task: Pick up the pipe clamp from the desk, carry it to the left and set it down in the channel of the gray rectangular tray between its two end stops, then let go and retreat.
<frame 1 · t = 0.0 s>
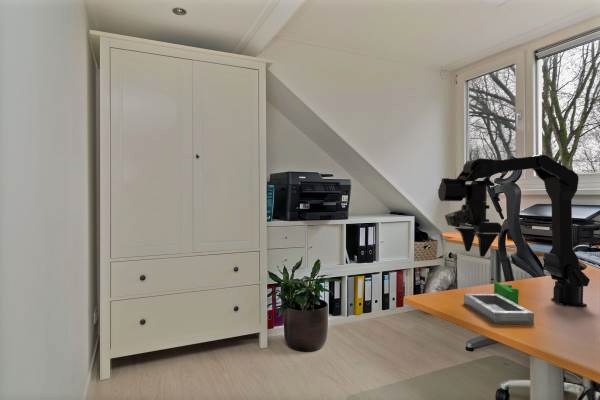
hand: (474, 253, 110), 15 cm above the table, tool pointing down, fingers open, 9 cm apart
gray rectangular tray: (495, 312, 101), on the table
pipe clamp: (507, 302, 112), on the table
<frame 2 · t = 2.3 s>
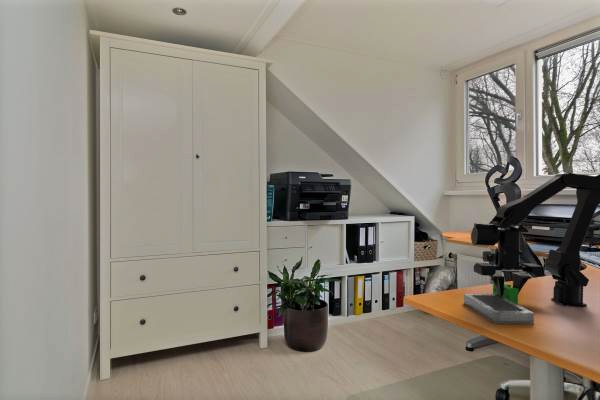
hand: (507, 297, 112), 1 cm above the table, tool pointing down, fingers closed on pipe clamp, 4 cm apart
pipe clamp: (506, 301, 112), on the table, touching gripper
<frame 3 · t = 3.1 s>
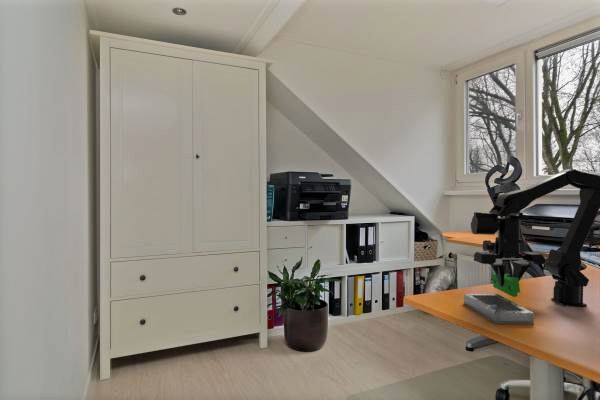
hand: (507, 286, 112), 5 cm above the table, tool pointing down, fingers closed on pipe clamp, 4 cm apart
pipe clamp: (509, 291, 112), point 3 cm above the table, touching gripper
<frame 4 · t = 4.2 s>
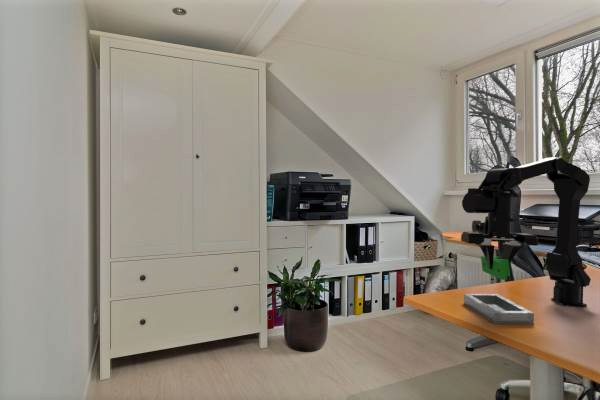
hand: (497, 269, 103), 12 cm above the table, tool pointing down, fingers closed on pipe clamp, 4 cm apart
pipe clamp: (498, 275, 103), point 10 cm above the table, touching gripper
when the fingers open (4 cm above the table, at t = 6.1 s): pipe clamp drops 1 cm, resting on gray rectangular tray.
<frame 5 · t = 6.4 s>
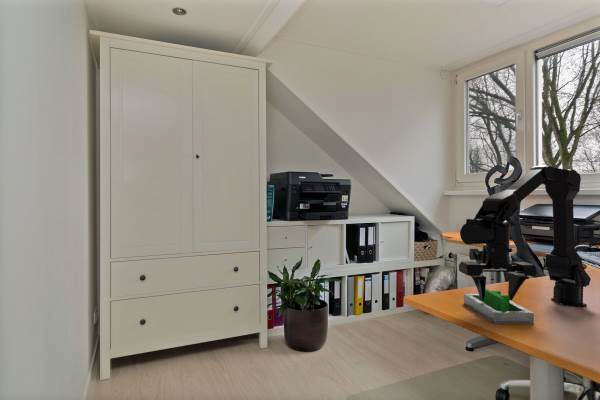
hand: (496, 299, 101), 4 cm above the table, tool pointing down, fingers open, 7 cm apart
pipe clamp: (497, 310, 101), point 1 cm above the table, touching gray rectangular tray
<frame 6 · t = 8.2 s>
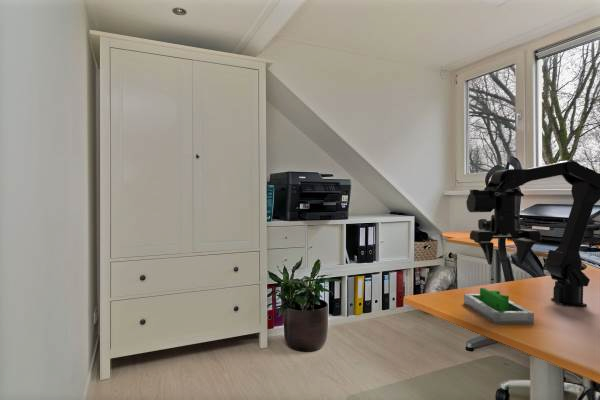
hand: (504, 264, 110), 12 cm above the table, tool pointing down, fingers open, 9 cm apart
nothing on the table moved.
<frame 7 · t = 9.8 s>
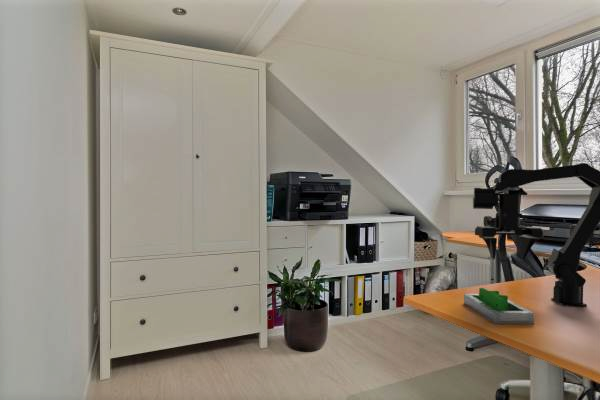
hand: (507, 259, 116), 12 cm above the table, tool pointing down, fingers open, 9 cm apart
nothing on the table moved.
at the end: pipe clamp inside the target area on the gray rectangular tray (0.3 cm from its centre), point 0.6 cm above the gray rectangular tray's base; the gripper is holding nothing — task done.
